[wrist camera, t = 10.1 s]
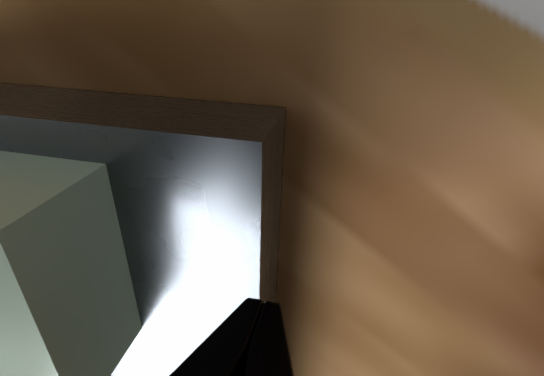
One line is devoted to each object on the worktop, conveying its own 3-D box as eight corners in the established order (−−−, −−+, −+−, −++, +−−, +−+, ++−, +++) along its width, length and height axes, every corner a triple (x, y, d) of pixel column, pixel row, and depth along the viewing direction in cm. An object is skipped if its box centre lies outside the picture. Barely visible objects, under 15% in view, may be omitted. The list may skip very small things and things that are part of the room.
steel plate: (269, 413, 17) (255, 484, 15) (37, 357, 20) (-11, 410, 17) (285, 107, 10) (262, 142, 7) (-96, 74, 12) (-217, 92, 10)
